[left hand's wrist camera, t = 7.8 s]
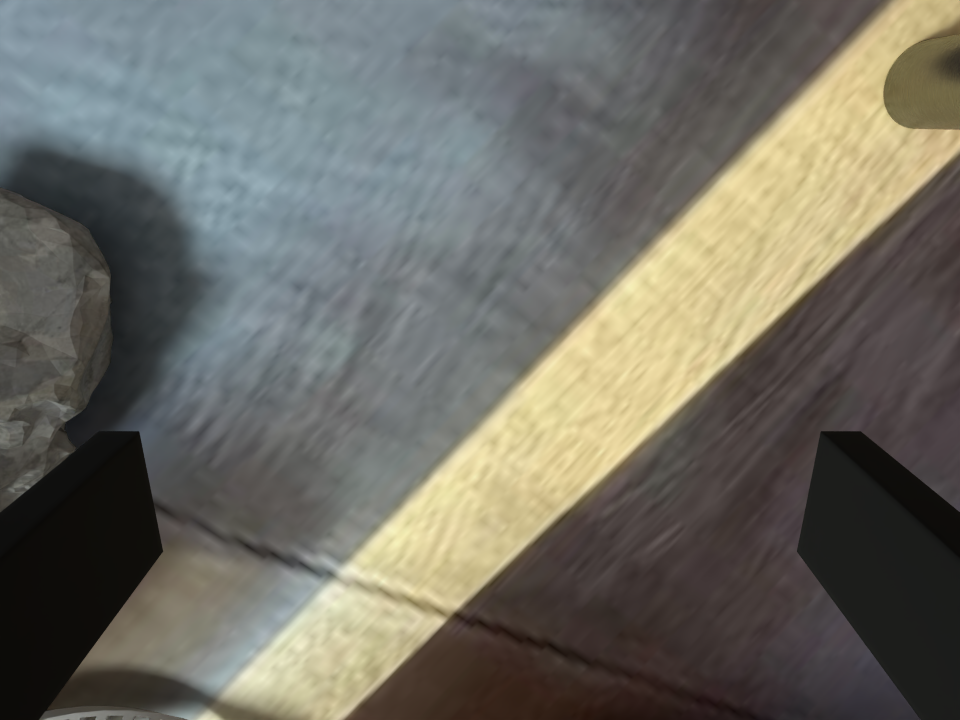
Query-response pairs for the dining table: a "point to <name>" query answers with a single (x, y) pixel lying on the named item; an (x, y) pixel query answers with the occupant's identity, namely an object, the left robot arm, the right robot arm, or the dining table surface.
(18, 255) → the decorative stone
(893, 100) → the bottle
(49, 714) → the decorative object
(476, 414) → the dining table surface
